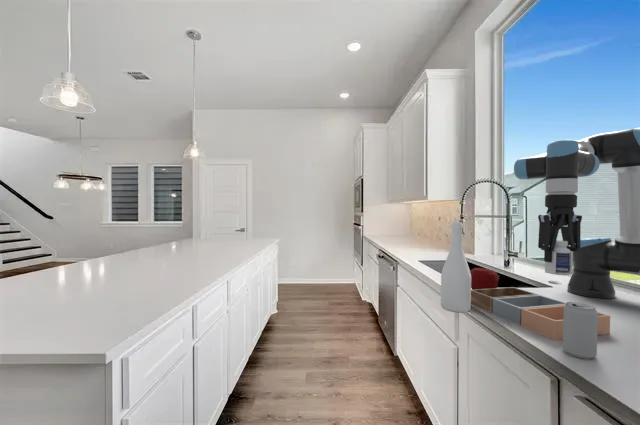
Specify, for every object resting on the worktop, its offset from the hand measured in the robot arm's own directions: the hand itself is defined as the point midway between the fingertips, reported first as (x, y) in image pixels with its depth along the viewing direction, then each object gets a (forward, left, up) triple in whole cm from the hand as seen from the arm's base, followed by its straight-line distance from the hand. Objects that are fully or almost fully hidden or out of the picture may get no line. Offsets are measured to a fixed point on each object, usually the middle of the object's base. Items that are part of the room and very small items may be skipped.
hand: (558, 272), depth 94 cm
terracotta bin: (0, +2, -16) cm, 16 cm away
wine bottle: (+19, -21, -16) cm, 33 cm away
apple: (-3, -33, -16) cm, 37 cm away
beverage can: (+12, +15, -16) cm, 25 cm away
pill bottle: (0, 0, -1) cm, 1 cm away
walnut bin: (0, -20, -16) cm, 26 cm away
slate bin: (0, -9, -16) cm, 18 cm away
